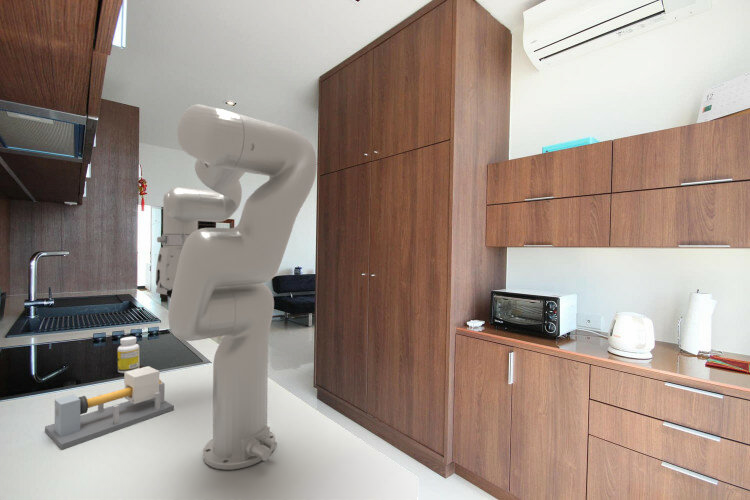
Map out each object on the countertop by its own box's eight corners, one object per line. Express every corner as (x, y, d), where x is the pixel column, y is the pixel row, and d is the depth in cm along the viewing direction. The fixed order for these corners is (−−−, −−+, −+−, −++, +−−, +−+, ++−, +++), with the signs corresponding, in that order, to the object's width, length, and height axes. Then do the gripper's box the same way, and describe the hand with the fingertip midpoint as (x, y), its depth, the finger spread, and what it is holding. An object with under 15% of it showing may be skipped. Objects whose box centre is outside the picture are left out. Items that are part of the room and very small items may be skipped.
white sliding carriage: (148, 390, 85) (148, 366, 85) (159, 396, 82) (159, 371, 82) (124, 397, 81) (124, 372, 81) (134, 404, 78) (134, 377, 78)
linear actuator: (152, 397, 88) (152, 368, 88) (173, 409, 82) (174, 378, 82) (44, 431, 72) (45, 396, 72) (61, 449, 66) (61, 411, 66)
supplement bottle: (121, 368, 109) (121, 336, 109) (141, 366, 111) (142, 335, 111) (114, 374, 104) (114, 341, 104) (135, 372, 106) (136, 339, 106)
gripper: (154, 241, 80) (154, 322, 80) (217, 242, 92) (216, 313, 92) (140, 241, 84) (139, 318, 84) (201, 242, 96) (201, 309, 97)
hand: (179, 315), depth 88 cm, fingers closed
